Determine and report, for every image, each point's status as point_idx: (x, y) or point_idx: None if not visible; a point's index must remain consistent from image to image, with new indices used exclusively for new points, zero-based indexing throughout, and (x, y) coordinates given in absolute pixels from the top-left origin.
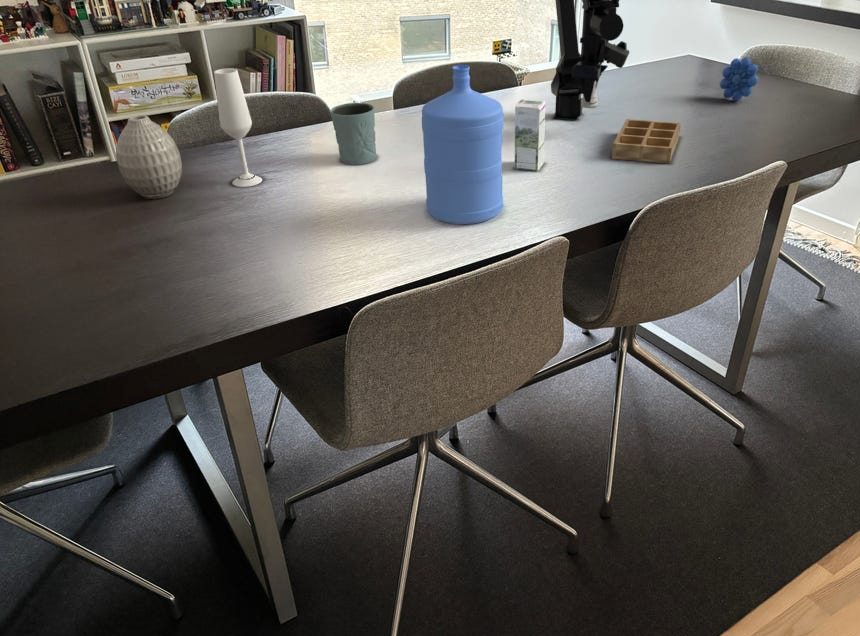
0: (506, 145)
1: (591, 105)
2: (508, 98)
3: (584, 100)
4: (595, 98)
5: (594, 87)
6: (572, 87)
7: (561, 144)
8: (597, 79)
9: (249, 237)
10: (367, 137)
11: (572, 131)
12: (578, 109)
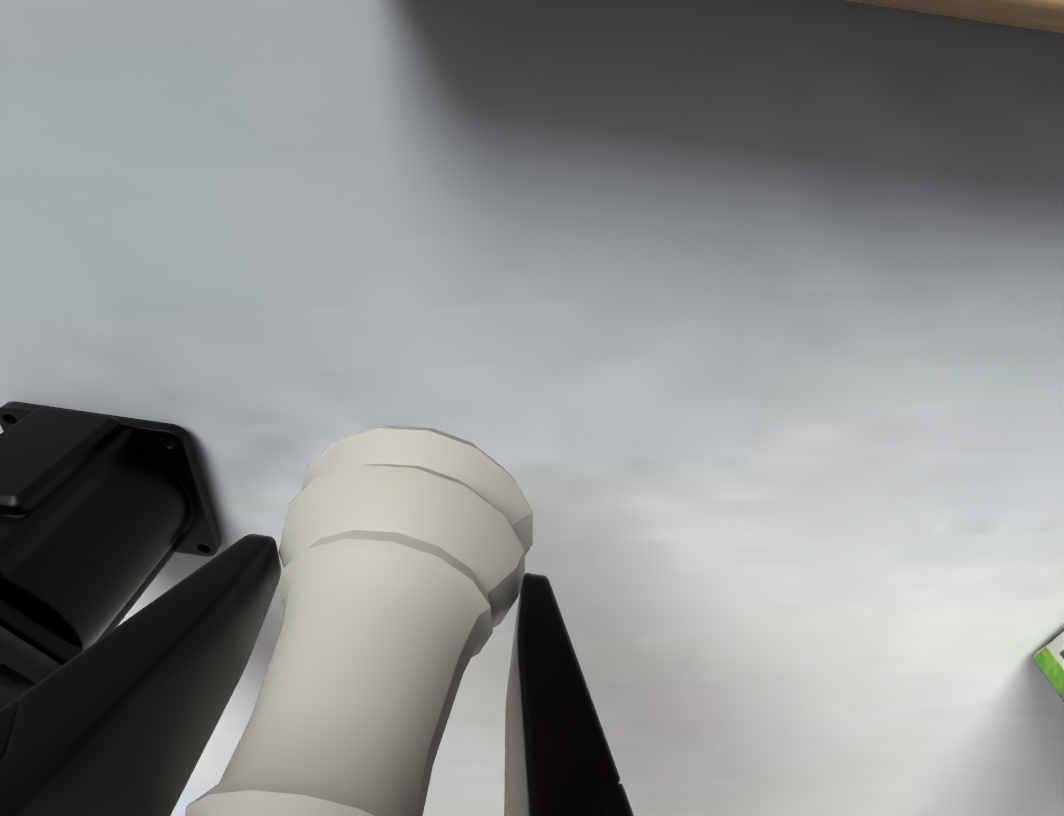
0: (738, 698)
1: (513, 510)
2: None
3: (497, 624)
4: (438, 538)
5: (376, 732)
6: (12, 696)
7: (744, 492)
8: (27, 811)
9: None
10: None
11: None
12: (85, 463)
